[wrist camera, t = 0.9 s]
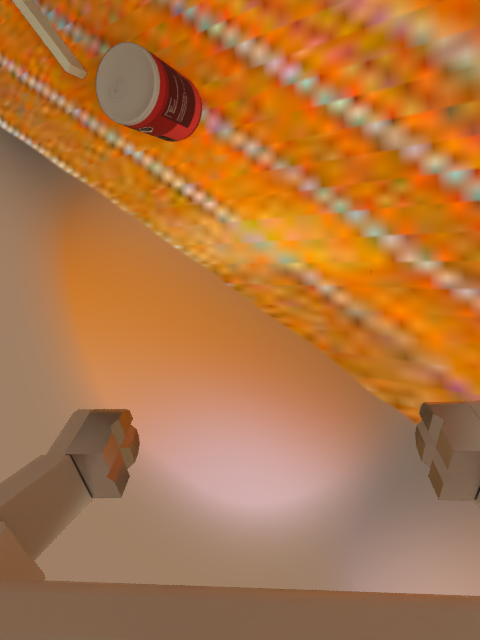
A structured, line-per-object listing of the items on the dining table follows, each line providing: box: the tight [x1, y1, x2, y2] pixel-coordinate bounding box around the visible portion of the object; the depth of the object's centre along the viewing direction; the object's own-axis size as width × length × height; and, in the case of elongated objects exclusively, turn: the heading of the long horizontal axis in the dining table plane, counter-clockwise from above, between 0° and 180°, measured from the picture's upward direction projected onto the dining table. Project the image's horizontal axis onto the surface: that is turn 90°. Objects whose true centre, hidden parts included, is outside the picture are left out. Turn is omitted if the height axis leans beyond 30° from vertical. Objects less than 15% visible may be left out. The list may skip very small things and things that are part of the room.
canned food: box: [96, 42, 202, 141], centre depth 42 cm, size 8×8×11 cm
